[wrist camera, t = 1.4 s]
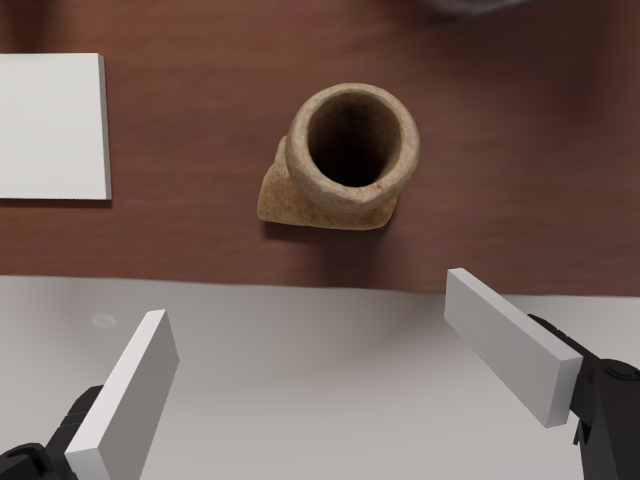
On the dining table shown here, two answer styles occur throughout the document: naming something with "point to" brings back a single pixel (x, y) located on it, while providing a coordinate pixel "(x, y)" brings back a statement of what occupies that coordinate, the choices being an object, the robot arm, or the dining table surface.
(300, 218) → the stone cup
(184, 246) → the dining table surface
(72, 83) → the mat
